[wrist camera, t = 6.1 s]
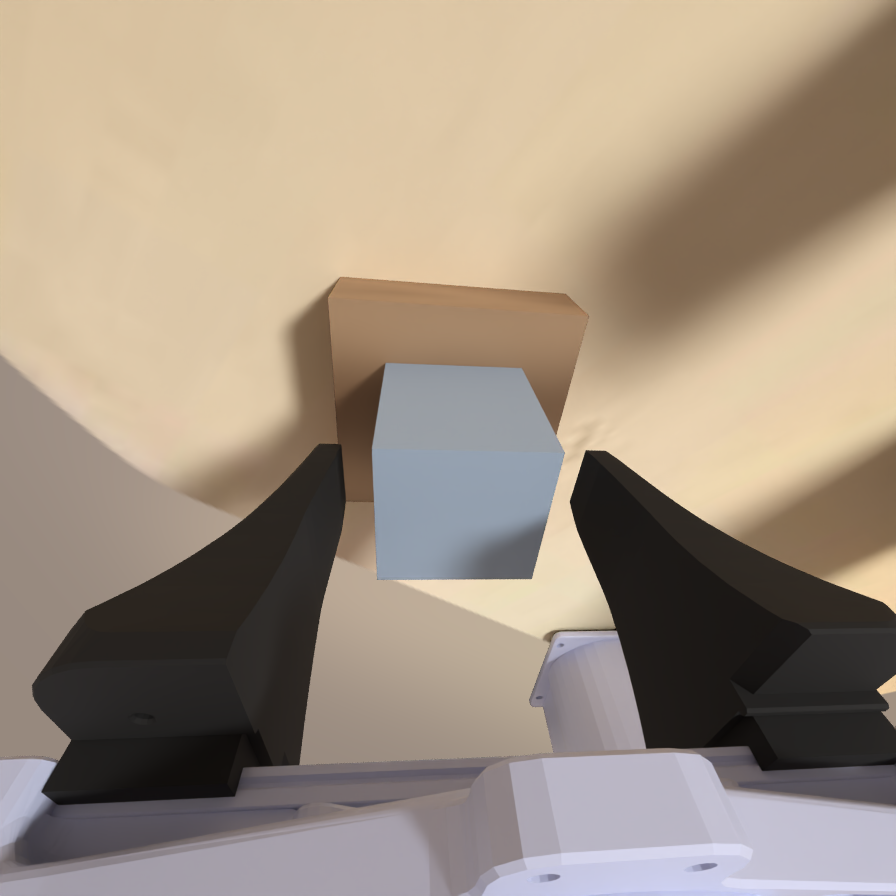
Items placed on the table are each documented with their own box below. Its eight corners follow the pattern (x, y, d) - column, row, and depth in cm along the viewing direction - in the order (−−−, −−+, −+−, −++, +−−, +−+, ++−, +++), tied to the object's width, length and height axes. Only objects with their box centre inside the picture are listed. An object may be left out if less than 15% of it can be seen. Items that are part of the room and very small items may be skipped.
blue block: (503, 475, 17) (531, 578, 13) (387, 473, 16) (377, 579, 12) (521, 368, 14) (564, 452, 10) (385, 362, 14) (371, 448, 10)
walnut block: (521, 463, 20) (536, 506, 18) (351, 457, 20) (342, 501, 17) (562, 290, 16) (589, 316, 13) (342, 273, 15) (327, 297, 13)
